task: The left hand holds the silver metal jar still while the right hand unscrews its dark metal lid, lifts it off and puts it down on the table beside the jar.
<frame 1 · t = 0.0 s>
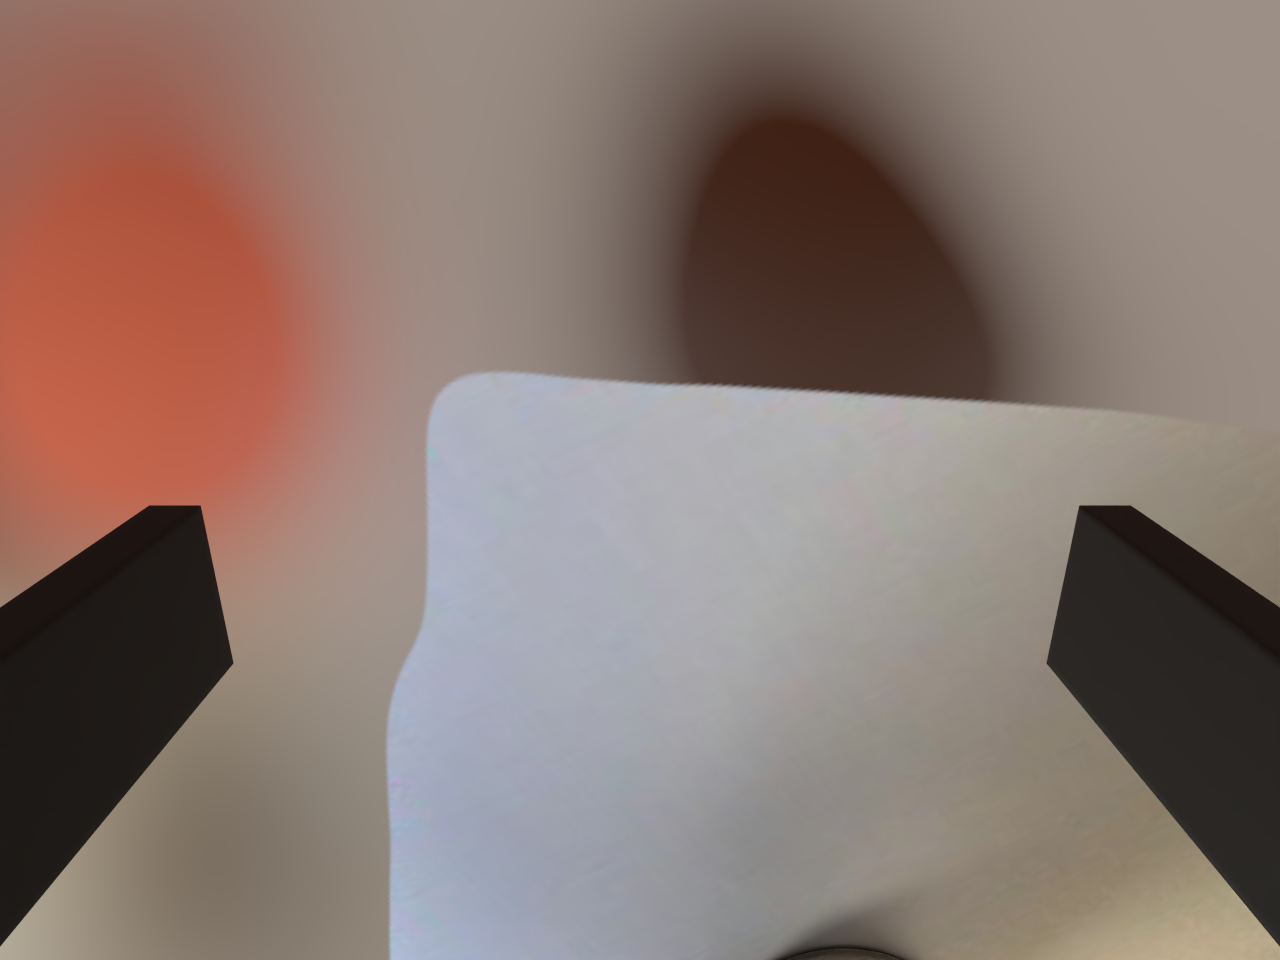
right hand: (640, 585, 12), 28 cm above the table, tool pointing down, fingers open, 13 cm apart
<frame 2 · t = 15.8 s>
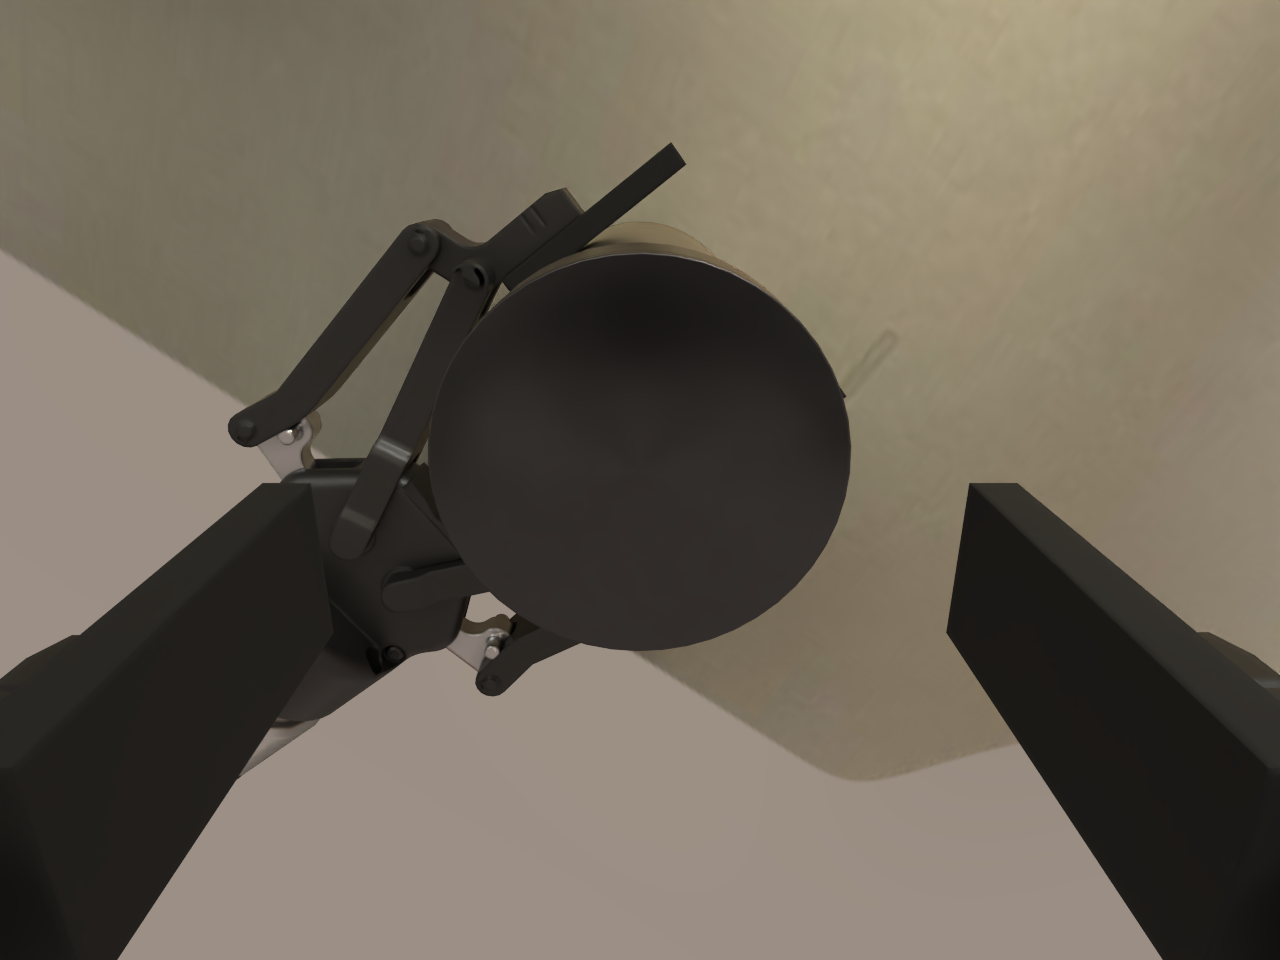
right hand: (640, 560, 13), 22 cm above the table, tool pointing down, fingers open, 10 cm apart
left hand: (756, 271, 26), fingers closed on jar, 8 cm apart
lid: (639, 464, 18), point 17 cm above the table, screwed on, not yet turned
jar: (639, 324, 33), on the table, touching left hand
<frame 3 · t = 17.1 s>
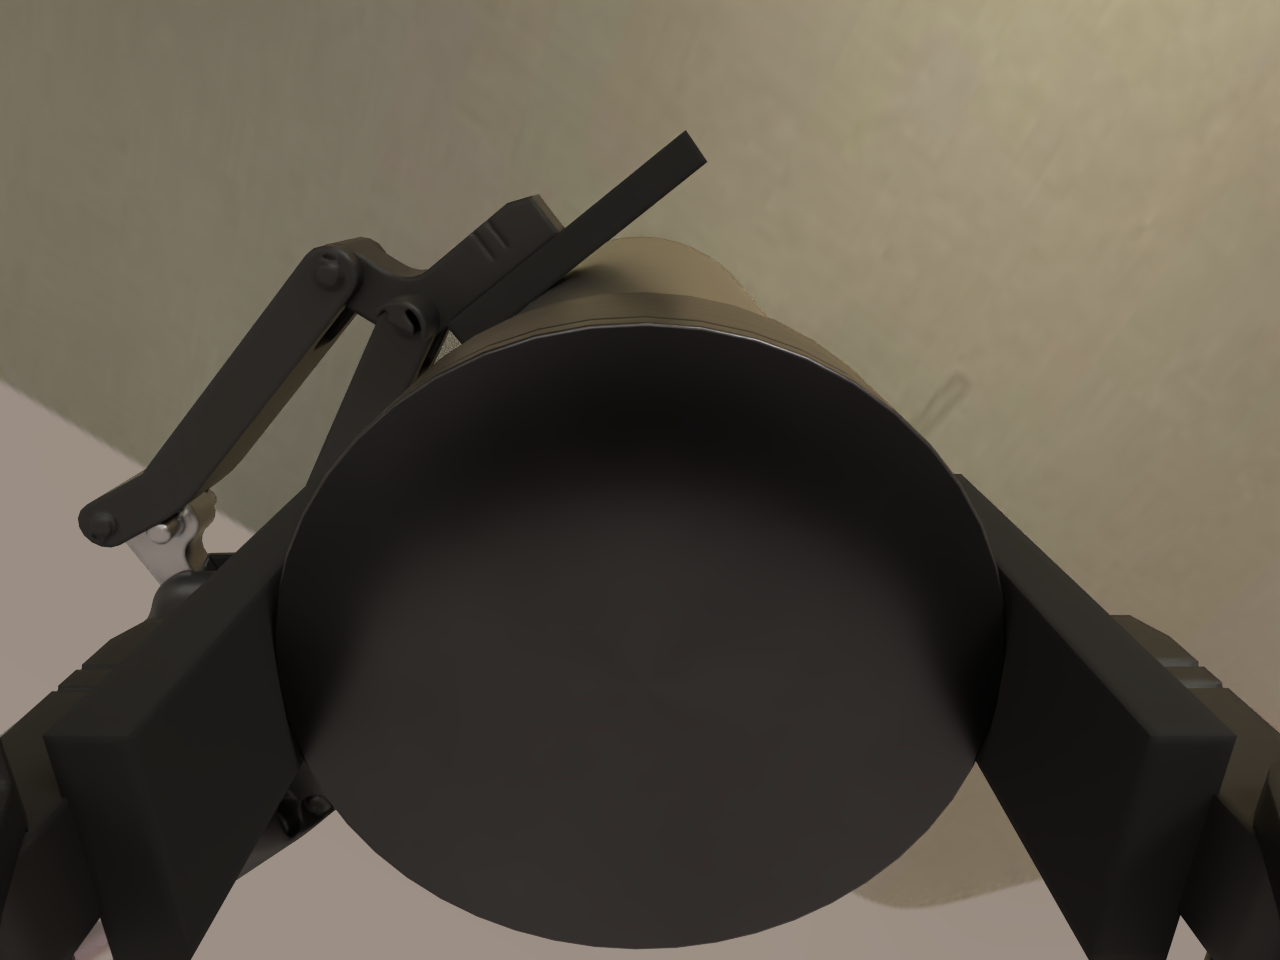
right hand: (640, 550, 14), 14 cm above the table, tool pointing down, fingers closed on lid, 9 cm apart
lid: (639, 670, 10), point 17 cm above the table, screwed on, not yet turned, touching right hand
jar: (640, 366, 26), on the table, touching left hand
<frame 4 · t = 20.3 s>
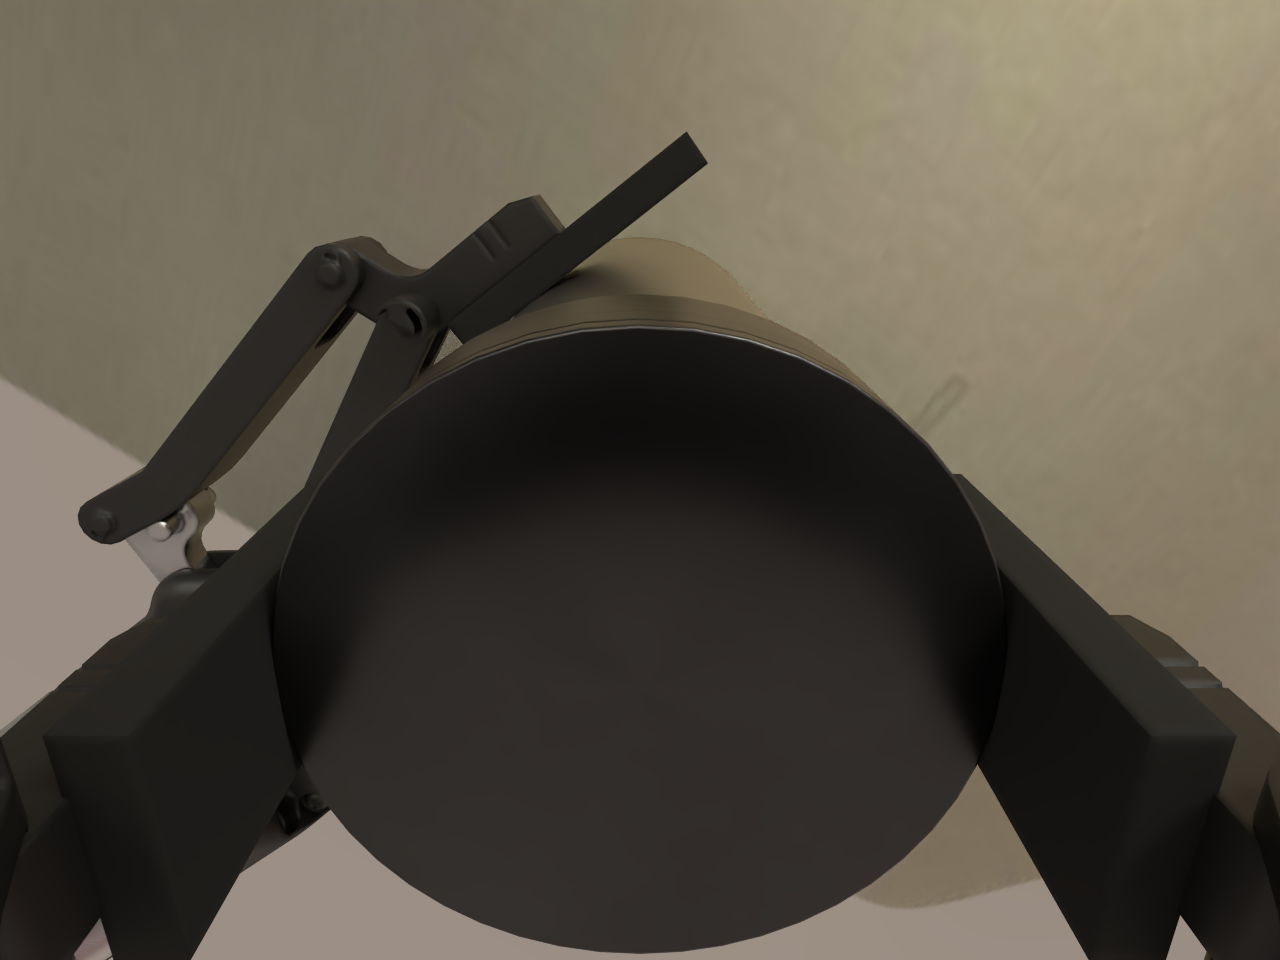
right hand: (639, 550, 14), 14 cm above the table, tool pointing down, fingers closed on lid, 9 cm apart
lid: (639, 673, 10), point 17 cm above the table, turned 99° so far, risen 0.1 cm, still on its thread, touching right hand
jar: (639, 367, 26), on the table, touching left hand
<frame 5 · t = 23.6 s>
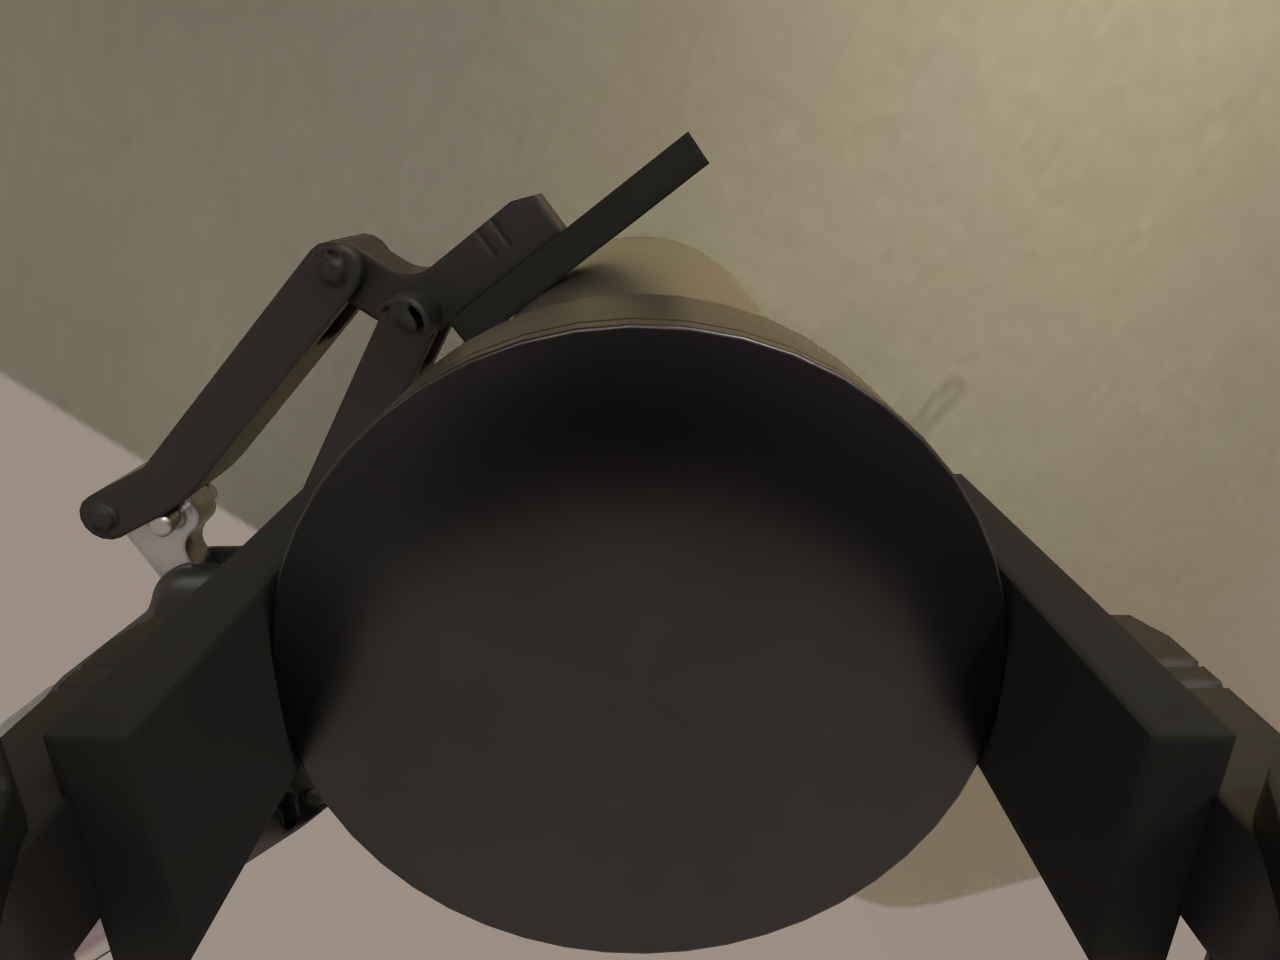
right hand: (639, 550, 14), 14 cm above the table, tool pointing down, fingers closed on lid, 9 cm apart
lid: (639, 673, 10), point 17 cm above the table, turned 198° so far, risen 0.2 cm, still on its thread, touching right hand
jar: (639, 365, 26), on the table, touching left hand
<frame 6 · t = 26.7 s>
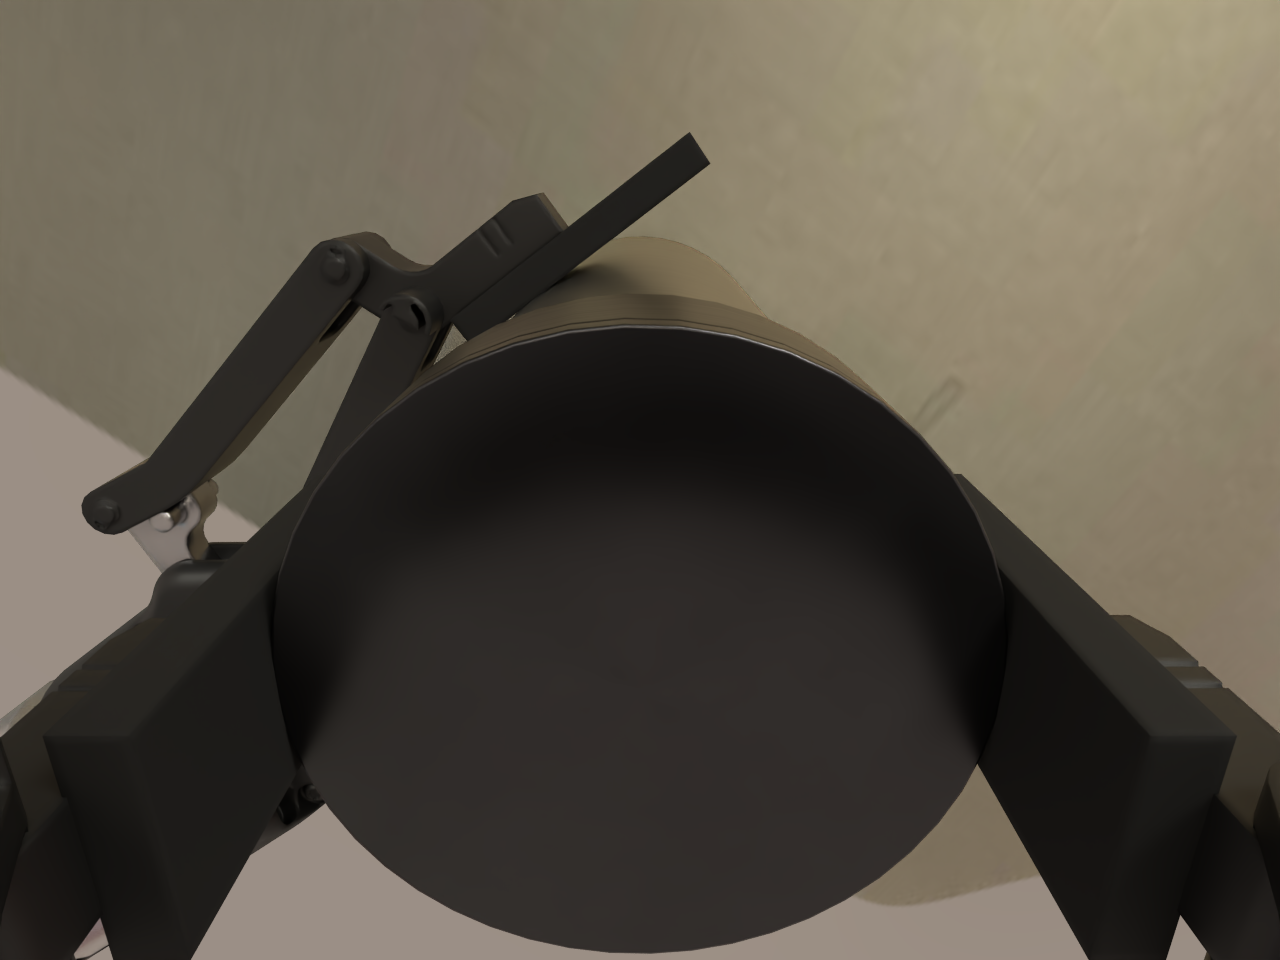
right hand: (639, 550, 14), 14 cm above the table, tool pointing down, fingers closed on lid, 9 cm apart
lid: (639, 673, 10), point 17 cm above the table, turned 296° so far, risen 0.4 cm, still on its thread, touching right hand
jar: (639, 365, 27), on the table, touching left hand
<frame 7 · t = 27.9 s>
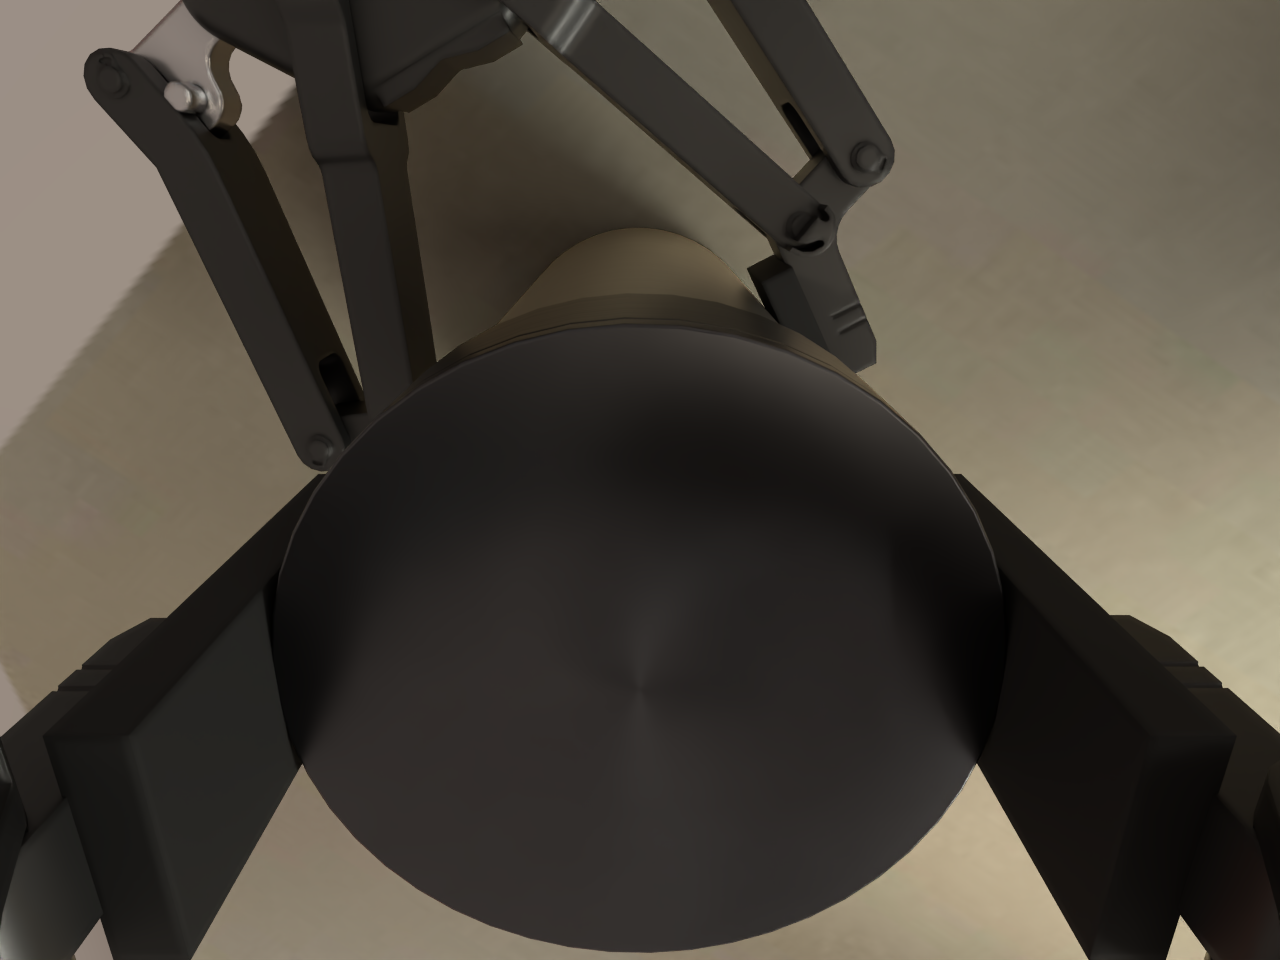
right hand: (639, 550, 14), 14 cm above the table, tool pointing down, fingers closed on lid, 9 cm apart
lid: (639, 672, 10), point 18 cm above the table, off its thread, touching right hand
jar: (638, 354, 27), on the table, touching left hand
when the right hand's fingers open (0 cm above the table, at t = 32.6 s): lid drops 2 cm, point 2 cm above the table.
when the left hand's fingers open (7 cm above the table, at t = 33.6 s): jar stays where it is, on the table.
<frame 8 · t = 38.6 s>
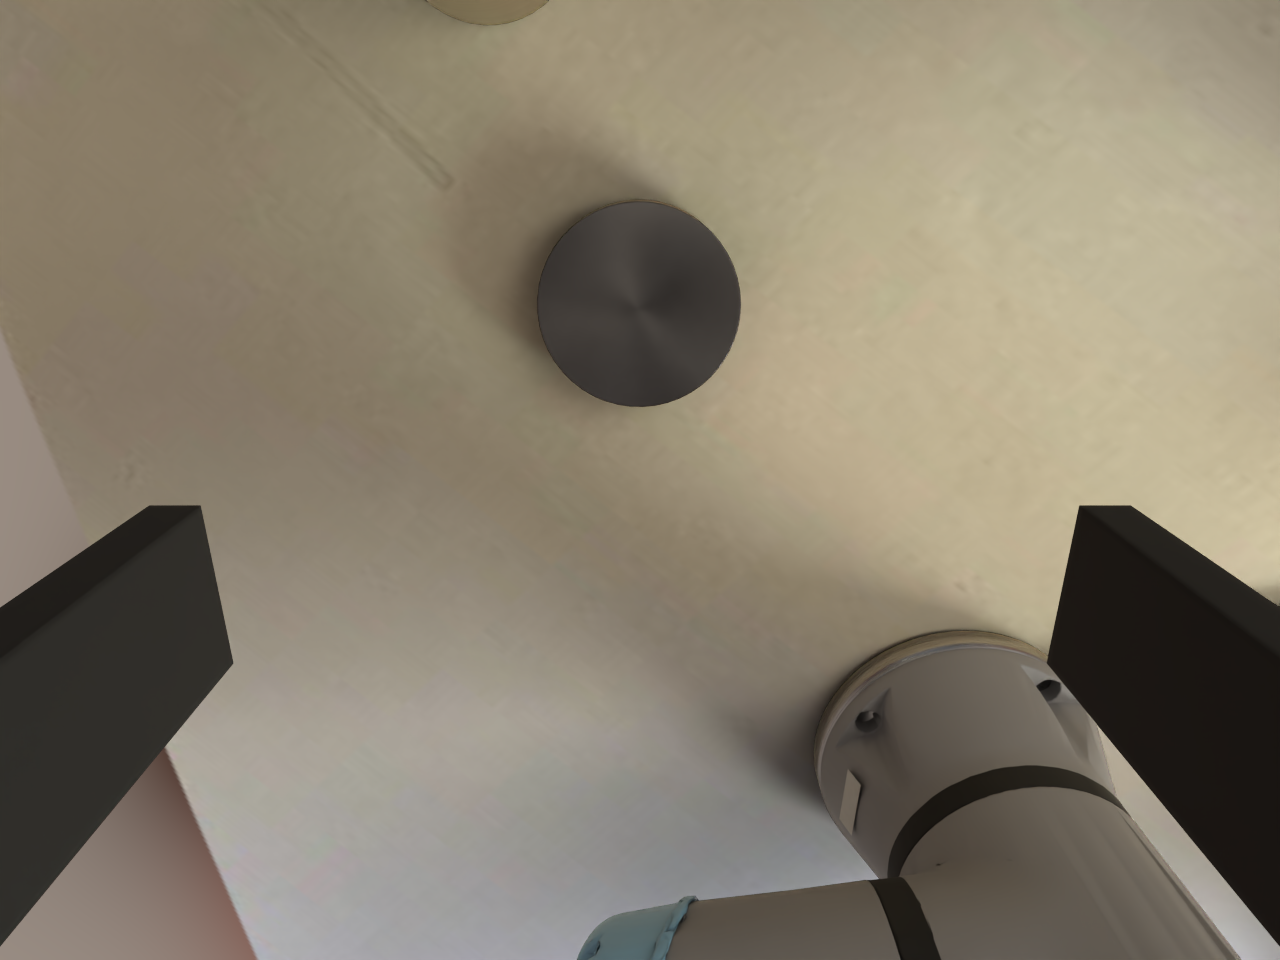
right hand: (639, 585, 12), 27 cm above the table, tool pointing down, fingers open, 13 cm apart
lid: (639, 307, 36), point 2 cm above the table, off its thread
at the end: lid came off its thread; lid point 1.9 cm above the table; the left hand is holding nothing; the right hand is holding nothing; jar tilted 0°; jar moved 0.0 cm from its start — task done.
